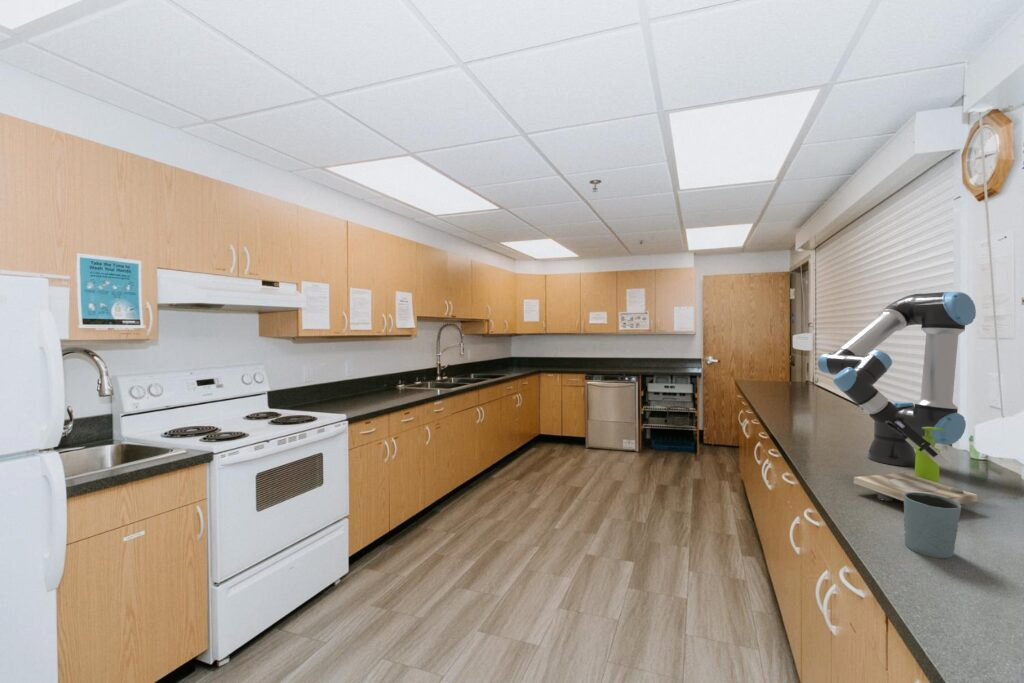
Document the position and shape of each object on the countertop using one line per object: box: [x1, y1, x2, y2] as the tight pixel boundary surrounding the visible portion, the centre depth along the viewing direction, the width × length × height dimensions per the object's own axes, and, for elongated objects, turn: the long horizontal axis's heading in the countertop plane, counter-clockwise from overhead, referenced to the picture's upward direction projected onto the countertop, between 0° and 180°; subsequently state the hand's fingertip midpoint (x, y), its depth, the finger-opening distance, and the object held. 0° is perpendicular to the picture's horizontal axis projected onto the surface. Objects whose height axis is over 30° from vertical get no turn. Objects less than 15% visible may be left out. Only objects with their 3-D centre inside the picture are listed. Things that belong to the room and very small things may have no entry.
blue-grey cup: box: [903, 492, 962, 559], centre depth 111 cm, size 10×10×12 cm
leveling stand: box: [853, 472, 978, 505], centre depth 141 cm, size 20×20×6 cm
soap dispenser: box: [914, 427, 944, 483], centre depth 152 cm, size 6×7×20 cm
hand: (934, 457), depth 151 cm, fingers open, 13 cm apart
